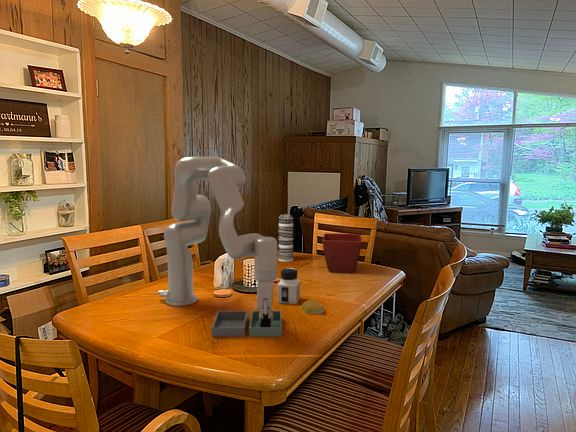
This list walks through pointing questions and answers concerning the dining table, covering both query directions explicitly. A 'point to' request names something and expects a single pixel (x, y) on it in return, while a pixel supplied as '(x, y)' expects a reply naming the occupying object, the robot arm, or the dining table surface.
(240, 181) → the robot arm
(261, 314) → the letter cube
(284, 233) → the decorative candle
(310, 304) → the bread roll
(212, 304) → the dining table surface
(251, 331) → the green-grey bin
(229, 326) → the charcoal bin
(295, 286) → the container
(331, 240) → the plant pot
